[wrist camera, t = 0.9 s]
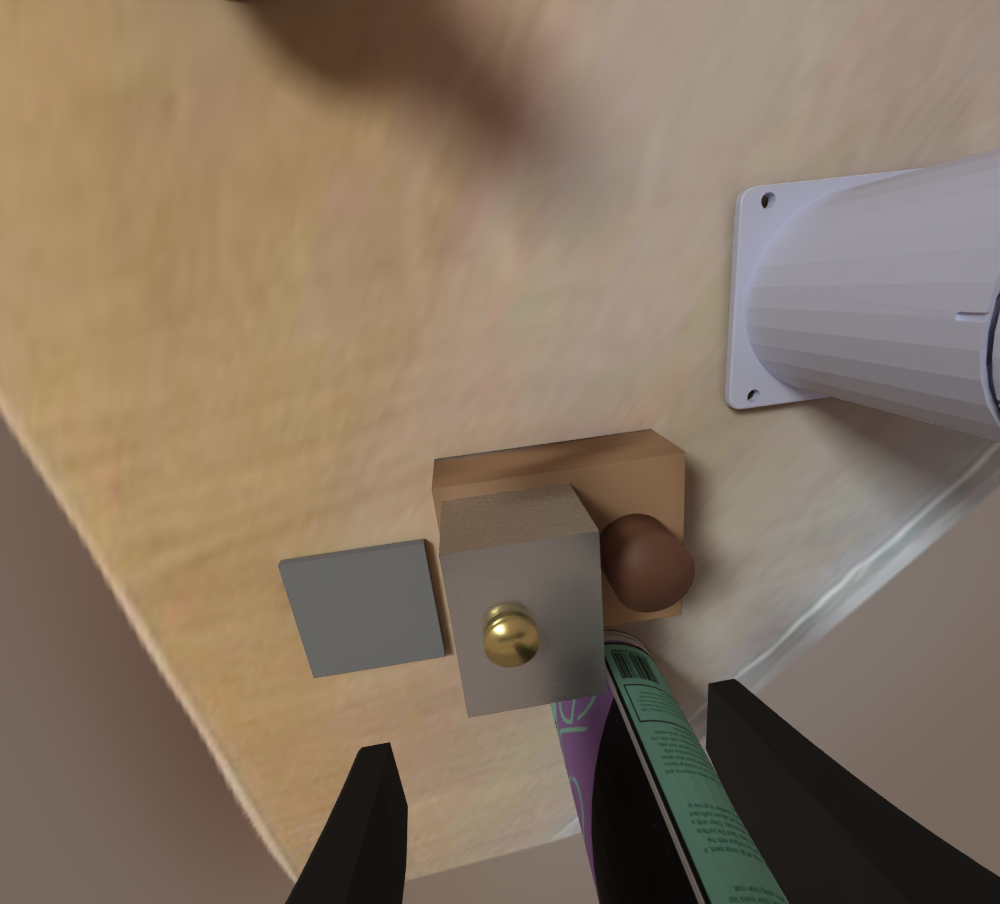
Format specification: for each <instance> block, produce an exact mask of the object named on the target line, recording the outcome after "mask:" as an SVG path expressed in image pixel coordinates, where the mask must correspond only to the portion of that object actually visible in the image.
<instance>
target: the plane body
mask: <svg viewBox="0 0 1000 904" xmlns="http://www.w3.org/2000/svg"><path fill="white" fill-rule="evenodd" d="M685 458H686V453H685V452H684V451H682V450H681V449H679V448H678V447H677V446H675V445H674V444H672V443H671V442H669V441H668V440H666V439H665V438H663V437H662V436H660V435H659V434H657V433H656V432H654V431H653V430H651V429H648V430H641V431H634V432H627V433H620V434H612V435H605V436H598V437H591V438H584V439H577V440H569V441H562V442H555V443H548V444H541V445H534V446H526V447H519V448H512V449H505V450H498V451H491V452H483V453H476V454H469V455H462V456H455V457H448V458H440V459H435V460H434V470H433V481H432V493H433V499H434V504H435V510H436V516H437V522H438V527H439V533H440V521H441V501H446V500H453V499H460V498H467V497H473V496H480V495H487V494H494V493H501V492H508V491H515V490H522V489H529V488H535V487H542V486H549V485H556V484H563V483H569V484H570V485H571V487H572V489H573V490H574V492H575V493H576V495H577V497H578V498H579V500H580V501H581V503H582V504H583V506H584V508H585V509H586V511H587V512H588V514H589V516H590V517H591V519H592V520H593V522H594V524H595V525H596V527H597V528H598V530H599V539H600V562H601V585H602V608H603V627H609V626H615V625H621V624H627V623H633V622H639V621H645V620H651V619H657V618H664V617H670V616H676V615H681V611H682V597H683V596H684V595H685V594H686V593H687V591H688V590H689V588H690V586H691V584H692V582H693V578H694V572H695V571H694V563H693V560H692V558H691V556H690V554H689V553H688V552H687V550H686V549H685V548H684V547H683V534H684V496H685Z"/></svg>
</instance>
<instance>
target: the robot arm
mask: <svg viewBox="0 0 1000 904" xmlns="http://www.w3.org/2000/svg"><path fill="white" fill-rule="evenodd" d="M764 195H766V196H767V198H768V205H767V207H766V208H765V209H764V208H763V207H762V204H761V200H762V197H763V196H764ZM751 390H753V391H754V394H753V397H752V398H751V399H749V400H748V398H747V396H748V393H749V392H750V391H751ZM826 397H833V398H837V399H841V400H844V401H848V402H852V403H855V404H859V405H863V406H867V407H870V408H874V409H878V410H881V411H885V412H889V413H892V414H896V415H900V416H903V417H907V418H911V419H914V420H918V421H922V422H926V423H929V424H933V425H937V426H940V427H944V428H948V429H951V430H955V431H959V432H962V433H966V434H970V435H973V436H977V437H981V438H985V439H988V440H992V441H996V442H999V443H1000V148H999V149H995V150H991V151H988V152H984V153H980V154H976V155H972V156H969V157H965V158H961V159H957V160H953V161H950V162H946V163H942V164H938V165H935V166H931V167H927V168H919V169H910V170H901V171H891V172H882V173H873V174H864V175H854V176H845V177H836V178H827V179H817V180H808V181H799V182H790V183H780V184H771V185H762V186H754V187H751V188H748V189H746V190H744V191H743V192H741V193H740V194H739V196H738V198H737V200H736V204H735V218H734V237H733V255H732V274H731V292H730V311H729V329H728V348H727V366H726V384H725V402H726V403H727V405H728V406H730V407H732V408H734V409H747V408H754V407H761V406H769V405H776V404H783V403H790V402H798V401H805V400H812V399H819V398H826ZM706 750H707V752H708V754H709V757H710V759H711V761H712V763H713V766H714V768H715V770H716V772H717V775H718V777H719V779H720V781H721V783H722V785H723V787H724V790H725V792H726V794H727V796H728V798H729V800H730V802H731V804H732V806H733V807H734V809H735V811H736V813H737V814H738V816H739V818H740V820H741V821H742V823H743V825H744V827H745V828H746V830H747V832H748V834H749V835H750V837H751V839H752V840H753V842H754V844H755V846H756V847H757V849H758V851H759V853H760V854H761V856H762V858H763V859H764V861H765V863H766V865H767V866H768V868H769V870H770V871H771V873H772V875H773V877H774V878H775V880H776V882H777V883H778V885H779V887H780V889H781V890H782V892H783V894H784V895H785V897H786V899H787V901H788V902H789V904H1000V877H999V876H997V875H996V874H994V873H993V872H991V871H989V870H988V869H986V868H985V867H983V866H982V865H980V864H979V863H977V862H975V861H974V860H973V859H971V858H969V857H968V856H967V855H965V854H963V853H962V852H960V851H959V850H957V849H956V848H954V847H953V846H951V845H950V844H948V843H947V842H945V841H944V840H942V839H941V838H939V837H938V836H936V835H935V834H934V833H932V832H931V831H929V830H928V829H926V828H925V827H923V826H922V825H920V824H919V823H918V822H916V821H915V820H914V819H912V818H911V817H909V816H908V815H906V814H905V813H904V812H902V811H901V810H899V809H898V808H897V807H895V806H894V805H893V804H891V803H890V802H888V801H887V800H886V799H884V798H883V797H882V796H880V795H879V794H877V793H876V792H875V791H874V790H872V789H871V788H869V787H868V786H867V785H866V784H864V783H863V782H862V781H860V780H859V779H858V778H856V777H855V776H854V775H852V774H851V773H850V772H848V771H847V770H846V769H845V768H843V767H842V766H841V765H840V764H838V763H837V762H836V761H835V760H833V759H832V758H831V757H829V756H828V755H827V754H826V753H824V752H823V751H822V750H821V749H819V748H818V747H817V746H815V745H814V744H813V743H812V742H810V741H809V740H808V739H807V738H805V737H804V736H803V735H801V733H799V732H798V731H797V730H796V729H794V728H793V727H792V726H791V725H790V724H788V723H787V722H786V721H785V720H783V719H782V718H781V717H780V716H779V715H778V714H776V713H775V712H774V711H773V710H772V709H770V708H769V707H768V706H766V704H764V703H763V702H762V701H761V700H760V699H758V698H757V697H756V696H755V695H754V694H753V693H751V692H750V691H749V690H748V689H747V688H745V687H744V686H743V685H742V684H741V683H739V682H738V681H737V680H735V679H730V680H725V681H719V682H714V683H709V685H708V711H707V736H706ZM407 819H408V805H407V802H406V798H405V795H404V791H403V787H402V784H401V780H400V777H399V773H398V770H397V766H396V762H395V759H394V755H393V752H392V748H391V744H390V742H389V743H384V744H378V745H373V746H367V747H362V748H361V749H360V750H359V752H358V753H357V756H356V758H355V760H354V763H353V765H352V767H351V770H350V772H349V774H348V777H347V779H346V781H345V784H344V786H343V788H342V790H341V793H340V795H339V797H338V799H337V801H336V803H335V806H334V808H333V810H332V812H331V814H330V816H329V818H328V821H327V823H326V825H325V827H324V829H323V831H322V833H321V835H320V837H319V839H318V841H317V843H316V845H315V847H314V849H313V851H312V853H311V855H310V857H309V859H308V861H307V863H306V865H305V867H304V869H303V871H302V873H301V875H300V877H299V879H298V881H297V883H296V884H295V886H294V888H293V890H292V892H291V894H290V896H289V897H288V899H287V901H286V903H285V904H402V899H403V889H404V881H405V872H406V855H407Z"/></svg>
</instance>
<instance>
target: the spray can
mask: <svg viewBox="0 0 1000 904" xmlns="http://www.w3.org/2000/svg"><path fill="white" fill-rule="evenodd" d="M604 654H605V677H606V694H602V695H596V696H590V697H585V698H579V699H573V700H568V701H562V702H556V703H550V704H551V708H552V712H553V716H554V720H555V724H556V728H557V733H558V737H559V741H560V745H561V749H562V753H563V757H564V761H565V765H566V769H567V773H568V777H569V781H570V785H571V790H572V794H573V798H574V802H575V806H576V810H577V814H578V818H579V822H580V826H581V830H582V834H583V838H584V842H585V847H586V851H587V855H588V859H589V862H590V867H591V871H592V875H593V879H594V883H595V887H596V891H597V895H598V900H599V904H789V903H788V901H787V899H786V898H785V896H784V894H783V892H782V890H781V889H780V887H779V885H778V883H777V882H776V880H775V878H774V877H773V875H772V873H771V871H770V870H769V868H768V866H767V865H766V863H765V861H764V859H763V858H762V856H761V854H760V853H759V851H758V849H757V847H756V846H755V844H754V842H753V840H752V839H751V837H750V835H749V834H748V832H747V830H746V828H745V827H744V825H743V823H742V821H741V820H740V818H739V816H738V814H737V813H736V811H735V809H734V807H733V806H732V804H731V802H730V800H729V798H728V796H727V794H726V792H725V790H724V787H723V785H722V783H721V781H720V779H719V777H718V775H717V774H716V772H715V770H714V768H713V766H712V765H711V763H710V761H709V759H708V758H707V756H706V754H705V752H704V750H703V748H702V747H701V745H700V743H699V741H698V739H697V738H696V736H695V734H694V732H693V730H692V729H691V727H690V725H689V723H688V721H687V720H686V718H685V716H684V714H683V712H682V711H681V709H680V707H679V705H678V703H677V702H676V700H675V698H674V696H673V694H672V693H671V691H670V689H669V687H668V685H667V684H666V682H665V680H664V678H663V676H662V675H661V673H660V671H659V669H658V667H657V666H656V664H655V662H654V660H653V658H652V657H651V655H650V654H649V652H648V650H647V649H646V648H645V646H644V645H643V644H642V643H641V642H640V641H639V640H637V639H636V638H635V637H632V636H630V635H628V634H626V633H622V632H618V631H604Z"/></svg>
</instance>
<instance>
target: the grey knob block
mask: <svg viewBox="0 0 1000 904" xmlns="http://www.w3.org/2000/svg"><path fill="white" fill-rule="evenodd" d="M439 558H440V563H441V569H442V574H443V580H444V585H445V591H446V597H447V602H448V608H449V613H450V619H451V624H452V630H453V635H454V641H455V647H456V652H457V658H458V663H459V669H460V674H461V680H462V686H463V691H464V697H465V702H466V708H467V713H468V718H470V717H476V716H481V715H487V714H493V713H499V712H504V711H510V710H516V709H522V708H527V707H533V706H539V705H545V704H550V703H556V702H562V701H568V700H573V699H579V698H585V697H590V696H596V695H602V694H606V677H605V654H604V631H603V608H602V585H601V562H600V539H599V530H598V528H597V527H596V525H595V524H594V522H593V520H592V519H591V517H590V516H589V514H588V512H587V511H586V509H585V508H584V506H583V504H582V503H581V501H580V500H579V498H578V497H577V495H576V493H575V492H574V490H573V489H572V487H571V485H570V484H569V483H563V484H556V485H549V486H542V487H535V488H529V489H522V490H515V491H508V492H501V493H494V494H487V495H480V496H473V497H467V498H460V499H453V500H446V501H441V521H440V545H439Z"/></svg>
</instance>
